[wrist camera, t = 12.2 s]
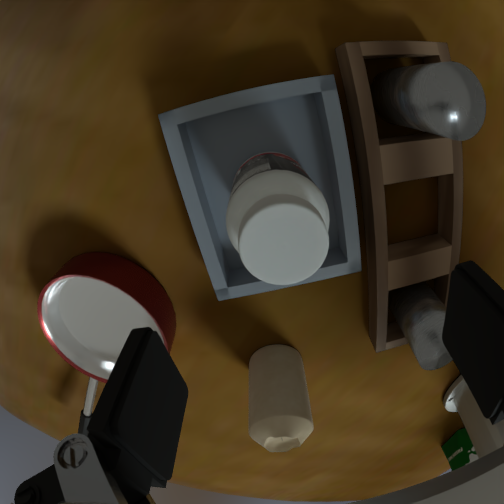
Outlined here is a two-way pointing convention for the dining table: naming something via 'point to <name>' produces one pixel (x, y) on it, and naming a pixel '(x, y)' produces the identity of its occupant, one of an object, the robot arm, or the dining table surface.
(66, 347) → the frying pan
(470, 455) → the milk carton
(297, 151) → the tray
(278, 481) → the dining table surface
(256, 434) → the candle
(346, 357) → the dining table surface
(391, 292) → the peg
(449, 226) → the socket rack
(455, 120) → the peg
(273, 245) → the pill bottle
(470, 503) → the robot arm
